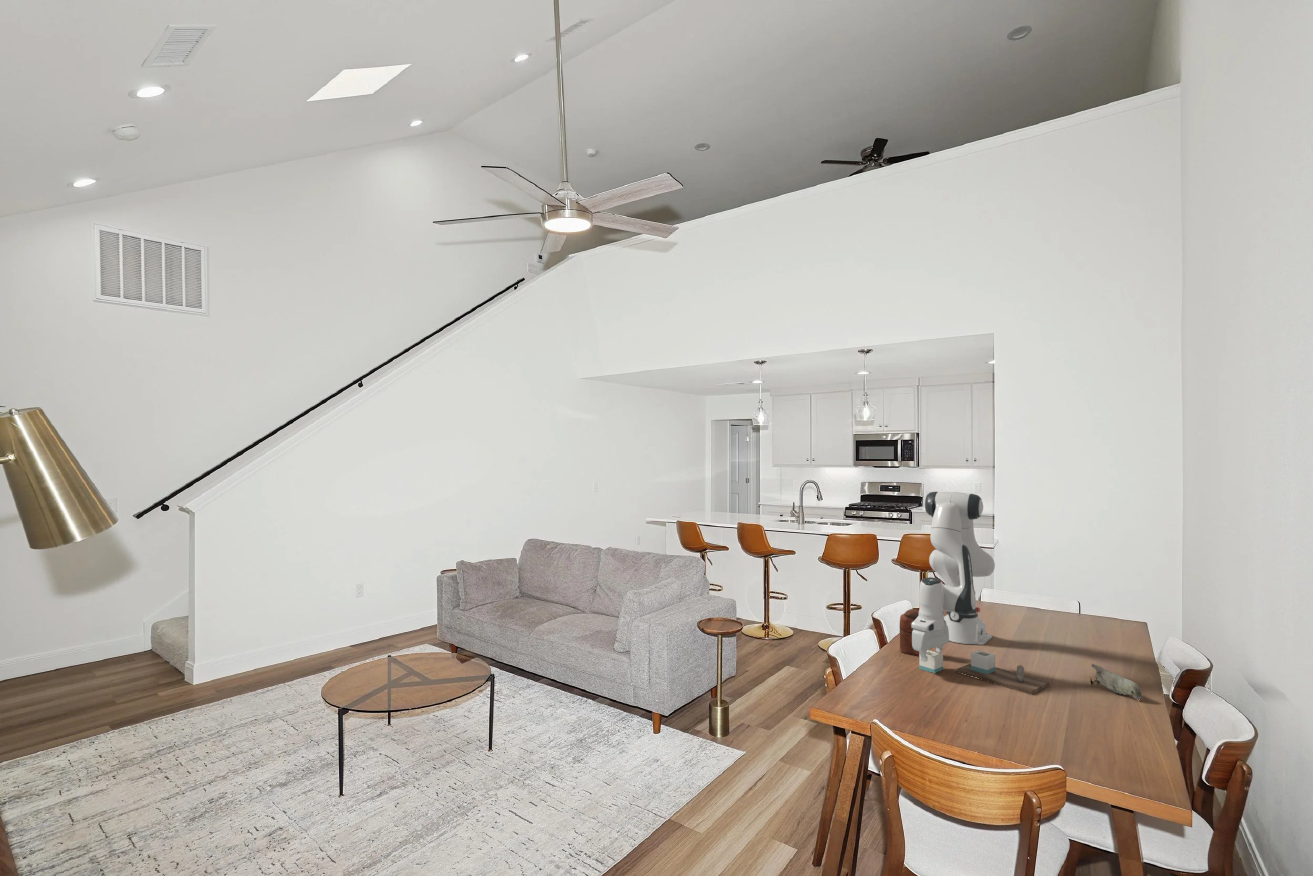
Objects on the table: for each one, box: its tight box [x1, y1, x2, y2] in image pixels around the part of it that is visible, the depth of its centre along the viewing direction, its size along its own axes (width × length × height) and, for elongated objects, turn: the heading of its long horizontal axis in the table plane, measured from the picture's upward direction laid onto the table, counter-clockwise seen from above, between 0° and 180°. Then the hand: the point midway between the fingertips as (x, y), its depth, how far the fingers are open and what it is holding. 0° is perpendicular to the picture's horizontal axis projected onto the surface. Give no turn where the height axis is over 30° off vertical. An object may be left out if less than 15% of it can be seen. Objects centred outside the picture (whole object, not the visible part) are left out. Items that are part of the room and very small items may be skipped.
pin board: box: [955, 655, 1050, 695], centre depth 225 cm, size 14×26×7 cm, turn 37°
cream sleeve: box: [918, 649, 944, 674], centre depth 234 cm, size 6×6×6 cm
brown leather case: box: [899, 608, 919, 657], centre depth 253 cm, size 12×6×18 cm, turn 49°
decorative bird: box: [1089, 663, 1142, 700], centre depth 213 cm, size 5×16×8 cm, turn 18°
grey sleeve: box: [970, 649, 996, 674], centre depth 231 cm, size 6×6×6 cm
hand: (931, 659), depth 234 cm, fingers open, 8 cm apart
